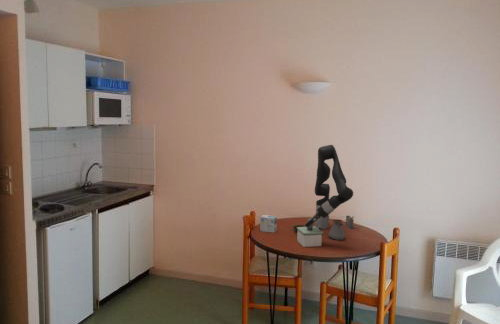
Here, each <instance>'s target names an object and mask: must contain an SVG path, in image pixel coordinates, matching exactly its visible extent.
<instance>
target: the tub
mask: <svg viewBox="0 0 500 324" xmlns="http://www.w3.org/2000/svg"><path fill="white" fill-rule="evenodd" d="M296 232H297V237H296V242H297V243H299V245H301V246H302V247H303V248H307V247H322V239H323V238H322V237H323V235H322V234H320V235H304V234H302V233H301V232H300V231H299V230H298V229H297V231H296Z"/></svg>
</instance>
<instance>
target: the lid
mask: <svg viewBox="0 0 500 324" xmlns="http://www.w3.org/2000/svg"><path fill="white" fill-rule="evenodd" d="M311 218H312V217H311ZM311 218H310V217H309V218H307V219H306V224H307V223H308V222H309V220H311ZM311 222H312V221H311ZM296 229H297V231H298V230H299V231H300V232H301V233H302V234H304V235H320V234H321V235H322V234H324V231H323V230H322V229H319V228H317V227H316V226H315V225H314V223H313V224H311V225H310V226H308V227H306V226H298V227H296Z"/></svg>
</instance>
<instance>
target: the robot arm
mask: <svg viewBox="0 0 500 324" xmlns="http://www.w3.org/2000/svg"><path fill="white" fill-rule="evenodd" d="M337 153H338V152H337V150H336V148H335V145H333V144H328V145H323V146H320V147H319V148H318V151H317V169H316V178H315V179H316V180H315V185H314V194H315V196H319V197H323V198H321V199H317V200H316V202H315V213H314V215H313V216H312V217H311V220H309V222H308V223H307V222H306V223H305V224H304V227H308V226H310V225H311V224H313V225H314V226H316V227H317V228H318V229H319V228H321V229H320V230H326V229H329V228H330V214H331V213H333V212H334V211H335V209H337V208H338V207H339V206H340V205H342V204H345V203H346V202H348V201H350V200H351V199H352V198H353V197H354V191H353V189H352V188H350V187H348V186H347V179H346V176H345V174H344V173H343V170H342V167H341V163H340V160H339V155H338V154H337ZM329 160H333V164H332V165H333V166H332V171H331V167H330V166H329V165H328V163H326V162H325V161H329ZM330 175H331V176H332V180H333V181H334V184H335V188H336V193H337V195H332V196H331V197H330V192H331V191H330V190H331V187H330V184H329V183H325V182H326V181H328V180H329V178H330V177H331V176H330ZM311 221H312V222H311ZM314 223H315V224H314Z"/></svg>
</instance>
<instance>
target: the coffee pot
mask: <svg viewBox="0 0 500 324" xmlns="http://www.w3.org/2000/svg"><path fill="white" fill-rule="evenodd" d="M332 222H333V224H332V226H331V228H330V230H329V232H328V237H329V238H330V239H332V240H335V241H339V242H340V241H343V240H344V239H345V238H346V232H345V230H344V224H343V223H342V222H343V220H342V219H332Z"/></svg>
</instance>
